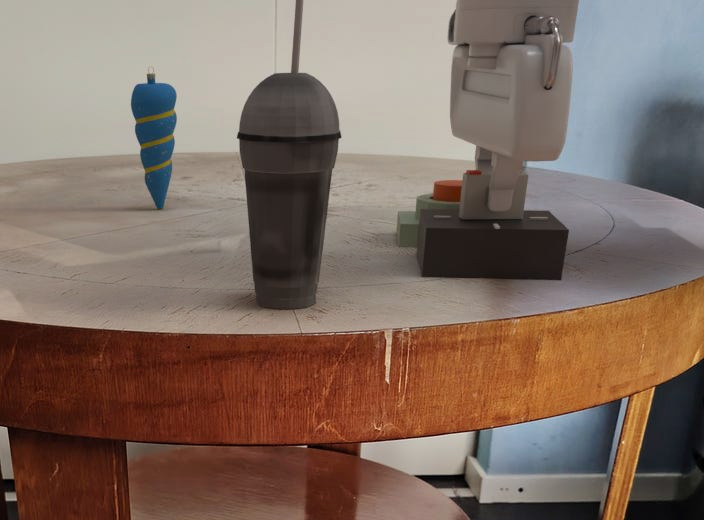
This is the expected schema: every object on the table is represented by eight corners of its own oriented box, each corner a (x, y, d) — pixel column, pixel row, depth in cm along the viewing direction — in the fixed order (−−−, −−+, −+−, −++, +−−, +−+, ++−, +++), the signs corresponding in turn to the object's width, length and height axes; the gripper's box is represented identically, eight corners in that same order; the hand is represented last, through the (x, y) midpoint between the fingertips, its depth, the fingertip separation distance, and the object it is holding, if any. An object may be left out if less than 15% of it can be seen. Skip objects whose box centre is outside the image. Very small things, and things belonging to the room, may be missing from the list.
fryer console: (541, 256, 80) (548, 208, 78) (561, 281, 72) (569, 227, 70) (416, 254, 82) (420, 206, 80) (421, 278, 74) (426, 225, 72)
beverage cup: (308, 285, 72) (317, -2, 62) (352, 307, 66) (369, -7, 56) (223, 294, 69) (219, -3, 60) (260, 318, 63) (262, -8, 54)
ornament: (189, 209, 105) (185, 66, 98) (153, 214, 102) (146, 67, 95) (163, 204, 108) (158, 65, 101) (128, 209, 105) (119, 66, 98)
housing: (498, 235, 89) (503, 192, 87) (508, 249, 83) (514, 204, 81) (396, 233, 91) (399, 191, 89) (398, 247, 84) (401, 203, 83)
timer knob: (518, 216, 76) (524, 169, 74) (522, 219, 74) (529, 171, 73) (458, 216, 76) (463, 169, 74) (462, 219, 74) (467, 172, 73)
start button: (473, 199, 87) (475, 180, 86) (477, 206, 83) (480, 186, 82) (431, 198, 87) (432, 179, 86) (433, 205, 84) (435, 185, 83)
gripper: (609, 14, 59) (574, 230, 65) (517, 20, 77) (496, 189, 84) (513, 15, 59) (487, 231, 65) (443, 21, 77) (428, 189, 84)
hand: (492, 207), depth 75 cm, fingers closed, pressing on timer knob
